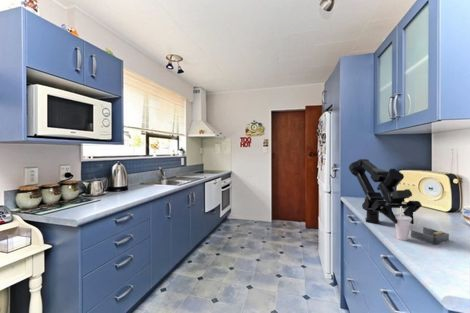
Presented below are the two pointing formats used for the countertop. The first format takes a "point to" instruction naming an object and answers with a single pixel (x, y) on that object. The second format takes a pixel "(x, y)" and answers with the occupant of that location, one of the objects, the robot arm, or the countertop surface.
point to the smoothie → (402, 225)
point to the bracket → (430, 236)
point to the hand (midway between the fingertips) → (404, 223)
